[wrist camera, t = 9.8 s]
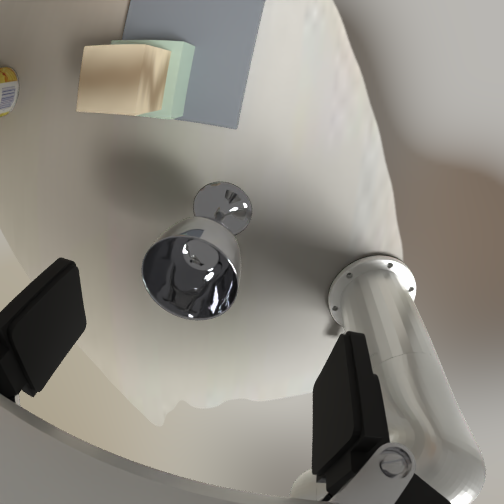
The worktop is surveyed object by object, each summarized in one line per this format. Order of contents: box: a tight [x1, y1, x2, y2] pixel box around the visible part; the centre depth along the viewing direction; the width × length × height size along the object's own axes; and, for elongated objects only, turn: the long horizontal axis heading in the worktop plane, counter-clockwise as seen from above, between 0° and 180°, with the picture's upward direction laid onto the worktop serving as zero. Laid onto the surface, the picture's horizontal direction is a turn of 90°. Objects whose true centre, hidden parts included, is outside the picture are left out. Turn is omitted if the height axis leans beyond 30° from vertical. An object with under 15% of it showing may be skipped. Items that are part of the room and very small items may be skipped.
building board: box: [122, 0, 265, 129], centre depth 28 cm, size 17×15×1 cm
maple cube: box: [76, 44, 171, 116], centre depth 23 cm, size 6×6×6 cm
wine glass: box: [142, 182, 252, 320], centre depth 31 cm, size 8×8×15 cm
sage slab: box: [111, 40, 195, 120], centre depth 27 cm, size 8×8×4 cm
